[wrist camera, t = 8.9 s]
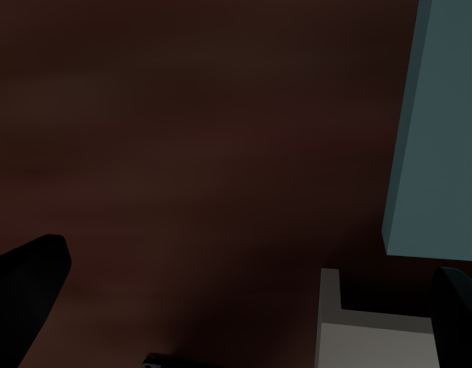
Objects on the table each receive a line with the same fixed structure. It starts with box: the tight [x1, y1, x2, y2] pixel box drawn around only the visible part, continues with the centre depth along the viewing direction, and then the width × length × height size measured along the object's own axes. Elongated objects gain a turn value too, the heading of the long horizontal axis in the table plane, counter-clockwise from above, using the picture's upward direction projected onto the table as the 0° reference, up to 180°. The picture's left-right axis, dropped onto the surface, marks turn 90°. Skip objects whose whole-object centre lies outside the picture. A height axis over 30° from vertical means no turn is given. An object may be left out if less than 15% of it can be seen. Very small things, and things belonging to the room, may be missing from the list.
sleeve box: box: [314, 268, 440, 368], centre depth 23 cm, size 10×12×4 cm
